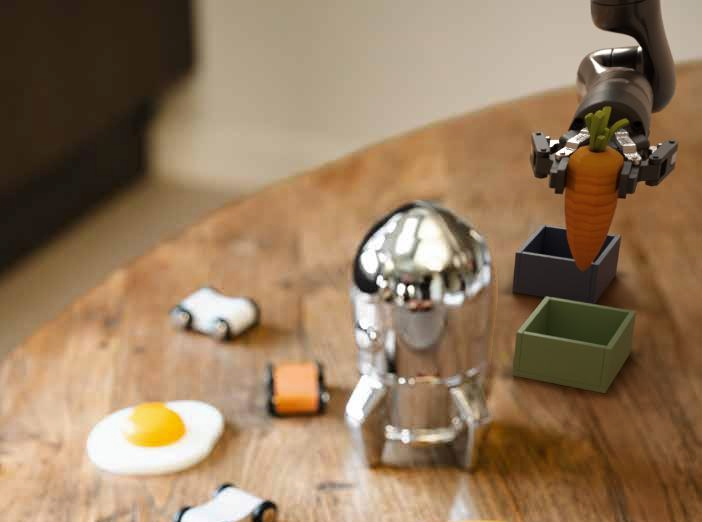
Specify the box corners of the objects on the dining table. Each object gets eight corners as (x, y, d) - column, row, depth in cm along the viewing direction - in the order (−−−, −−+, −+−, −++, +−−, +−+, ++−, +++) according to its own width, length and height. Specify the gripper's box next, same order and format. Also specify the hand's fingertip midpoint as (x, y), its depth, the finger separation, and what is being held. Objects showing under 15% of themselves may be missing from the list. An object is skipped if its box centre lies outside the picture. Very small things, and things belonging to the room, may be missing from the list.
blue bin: (616, 274, 137) (621, 235, 134) (593, 305, 130) (598, 265, 127) (537, 262, 140) (541, 223, 137) (512, 292, 134) (515, 252, 131)
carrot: (579, 256, 117) (598, 95, 107) (620, 271, 113) (643, 106, 104) (544, 270, 114) (561, 106, 105) (585, 286, 111) (606, 118, 102)
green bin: (630, 353, 121) (636, 311, 118) (605, 393, 114) (611, 349, 112) (541, 337, 124) (545, 296, 122) (512, 375, 118) (516, 332, 115)
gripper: (540, 84, 119) (513, 137, 106) (692, 91, 115) (682, 147, 102) (534, 160, 123) (506, 220, 110) (679, 170, 119) (668, 233, 107)
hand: (591, 185), depth 106 cm, fingers closed on carrot, 5 cm apart
